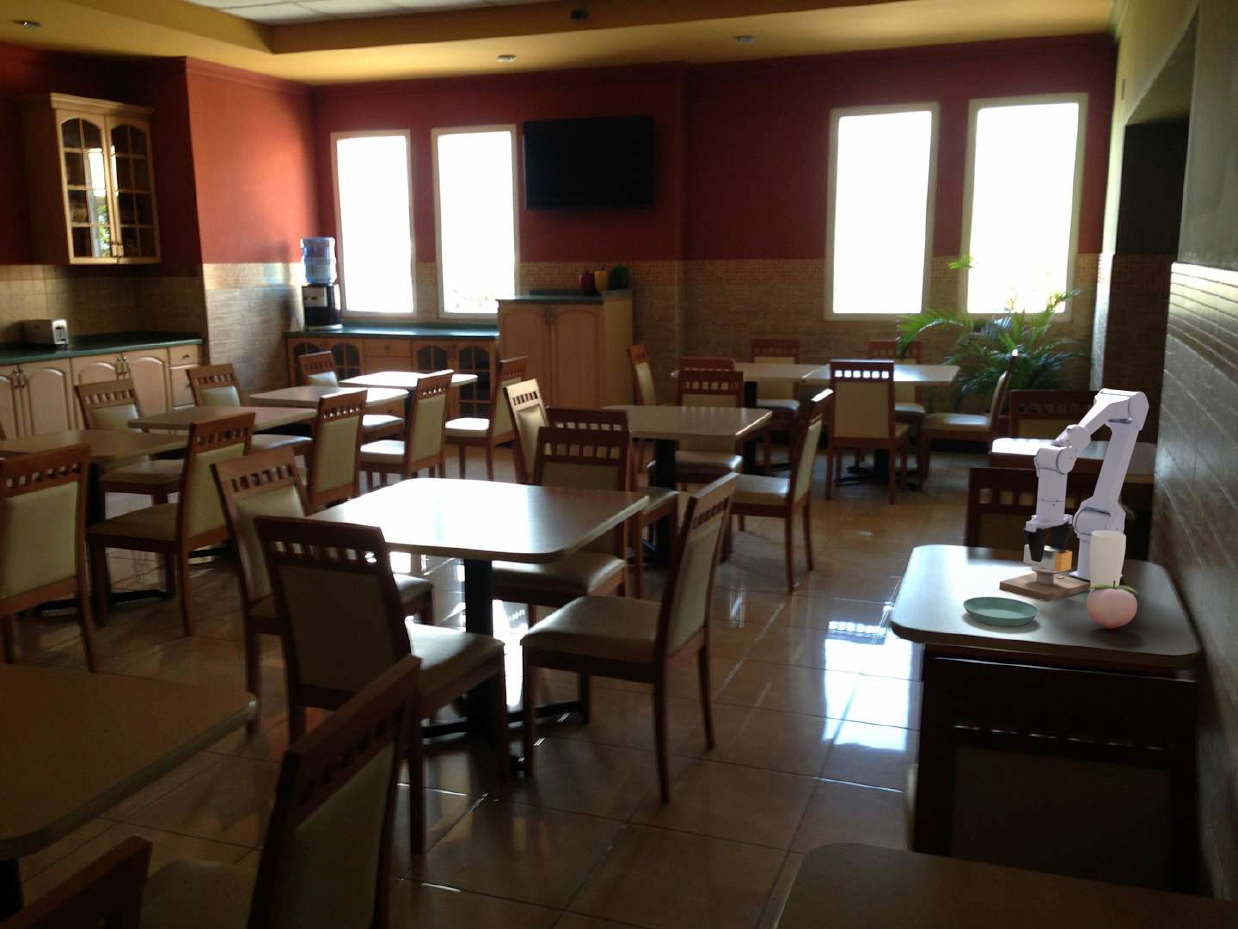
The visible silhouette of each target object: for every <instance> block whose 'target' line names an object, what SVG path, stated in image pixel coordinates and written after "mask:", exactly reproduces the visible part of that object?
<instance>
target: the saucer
mask: <svg viewBox="0 0 1238 929" xmlns="http://www.w3.org/2000/svg"><path fill="white" fill-rule="evenodd" d="M962 606H963V608H964V610H966V612H967V614H968V615H969V616H970V617H971V618H972V619H974V620H975V619H976V621H978V622H980V623H983V624H987V625H991V626H996V627H1007V626H1013V627H1020V626H1024V625H1027V624H1028V623H1030V622H1031V621H1033V620H1035V618H1036V617H1037V616H1038V615H1039V613H1040V610H1039V608H1038V607H1037V606H1035V605H1034V604H1031V603H1029V602H1026V601H1023V600H1020V599H1019V600H1018V599H1013V598H1008V597H1000V596H979V597H977V596H975V597H971V598H968V599H965V600H964V601H963V603H962Z"/></svg>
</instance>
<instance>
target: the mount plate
mask: <svg viewBox="0 0 1238 929" xmlns="http://www.w3.org/2000/svg"><path fill="white" fill-rule="evenodd" d="M1089 588H1090V582H1088V581H1084V580H1082V579H1081V580H1080V579H1077V578H1072V577H1068V576H1064V575H1060V574H1041V573H1037V572H1032V573H1027V574H1023V575H1021V576H1016V577H1013V578H1009V579H1005V580H1002V581H999V588H998V589H1001V590H1005V591H1009V592H1012V593H1016V594H1018V595H1023V596H1026V597H1031V598H1033V599H1037V600H1041V601H1045V602H1050V601H1053V600H1054V601H1055V600H1057V599H1061V598H1064V597H1067V596H1071V595H1074V594H1077V593H1081V592H1084V591H1089V590H1088V589H1089Z"/></svg>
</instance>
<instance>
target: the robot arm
mask: <svg viewBox="0 0 1238 929" xmlns="http://www.w3.org/2000/svg"><path fill="white" fill-rule="evenodd" d="M1149 408H1150V405H1149V402H1148V398H1147V396H1146V394H1145V393H1144V392H1142V391H1128V390H1127V391H1126V390H1119V389H1118V390H1117V389H1109V388H1101V390H1099V392H1098V393H1097V395H1095V396H1094V399H1093V405H1092V407H1091V409H1090V410H1088V411H1087V413H1086V414H1085V415H1084V417H1083V418H1082V419H1081V420H1080V422H1078V424H1069V425H1068V426H1067V427H1066V428H1065V429H1064V431H1062V432H1061V434H1059V435H1058V436H1057V437H1056V438H1055V439H1054V440H1053V441H1052V442H1051V443H1050V444H1045V445H1043V446H1041V447H1039V448H1038V450H1037V451H1036V454H1035V457H1034V458H1033V462H1034V466H1035V468H1036V476H1037V478H1038V485H1037V488H1038V489H1037V500H1036V511H1035V514H1034V515H1031V520H1029V521H1026V522H1025V527H1023V528H1022V534H1023V535H1024V538H1025V539H1026V542H1027V545H1029V550H1030V555H1031V560H1032V561H1036V562H1041V561H1042V558H1043V553H1044V548H1045V546H1046V544H1047V541H1048V539H1049V537H1050V547H1054V548H1058V549H1062V550H1065V548H1066V545H1067V543H1068V540H1069V538H1070V537H1071V535H1072V534H1073V533H1075V534H1076V535H1077V536H1076V537H1077V538H1078V539H1079V550H1078V560H1077V569H1076V571H1072V572H1069V576H1071V577H1074V578H1079V579H1081V580H1082V579H1083V580H1087V581H1090V545H1091V536H1092V532H1094V531H1100V530H1104V531H1114V532H1119V533H1122V534H1124V530H1125V519H1126V514H1127V513H1126V512H1125V510H1124V509H1123V508H1122V507H1121V505H1120V504H1119V503H1118V502H1119V501H1118V500H1119V498H1120V494H1121V490H1122V488H1123V483H1124V480H1125V477H1126V475H1127V472H1128V468H1129V464H1130V461H1131V458H1132V454H1133V451H1134V448H1135V444H1136V441H1137V438H1138V436H1139V431H1141V430H1143V427H1144V424H1145V421H1146V418H1147V414H1148V411H1149ZM1103 425H1105V426H1107V427H1108V428H1110V430H1111V433H1112V434H1111V436H1110V440H1109V444H1108V447H1107V449H1106V450H1107V451H1106V452H1105V456H1104V460H1103V463H1102V466H1101V470H1100V473H1099V475H1098V479H1097V482H1096V484H1095V488H1094V489H1095V490H1094V492H1093V496H1091V497H1089V498H1088V499H1086V500H1084V501H1081V503H1080V506H1079V508H1078V510H1077V512H1076V513H1075V514H1074V515H1071V514H1065V506H1066V493H1067V483H1068V482H1067V481H1068V473H1069V472H1071V471H1072V470H1073V468H1074V466H1075V462H1076V461H1077V459H1078V455H1080V453H1081V452H1082V451H1083V450H1084V449H1086V447H1087V446H1088V445H1089V444H1090V442H1091V440H1092V438H1091V435H1092V434H1094V433H1095V432H1096V431H1097V430H1099V429H1100V428H1101V427H1102V426H1103ZM1071 524H1072V525H1071ZM1045 529H1048V532H1049V533H1048V532H1044V530H1045ZM1122 577H1123V574H1121V576H1120V578H1122Z"/></svg>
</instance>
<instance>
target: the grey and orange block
mask: <svg viewBox="0 0 1238 929" xmlns="http://www.w3.org/2000/svg"><path fill="white" fill-rule="evenodd" d="M1023 552H1024V553H1023V563H1025V564H1029V565H1031V571H1032V572H1033V573H1035V572H1037V573H1041V574H1057V575H1060V574H1061V573H1062V572H1065V571H1069V570H1071V569H1072V559H1073V558H1072V556H1073V551H1071V550H1067V549H1064V550H1062V549H1058V548H1054V547H1051V546H1049V545H1045V548H1044V553H1043V558H1042V561H1041V562H1036V561H1032V560H1031V555H1030V550H1029V545H1028V544H1025V545H1024V551H1023Z"/></svg>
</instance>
